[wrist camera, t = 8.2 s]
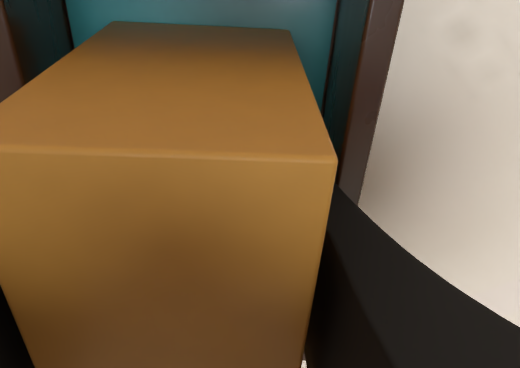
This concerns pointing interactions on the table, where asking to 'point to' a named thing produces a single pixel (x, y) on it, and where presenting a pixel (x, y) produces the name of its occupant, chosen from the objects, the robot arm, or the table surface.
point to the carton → (165, 200)
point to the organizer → (236, 15)
